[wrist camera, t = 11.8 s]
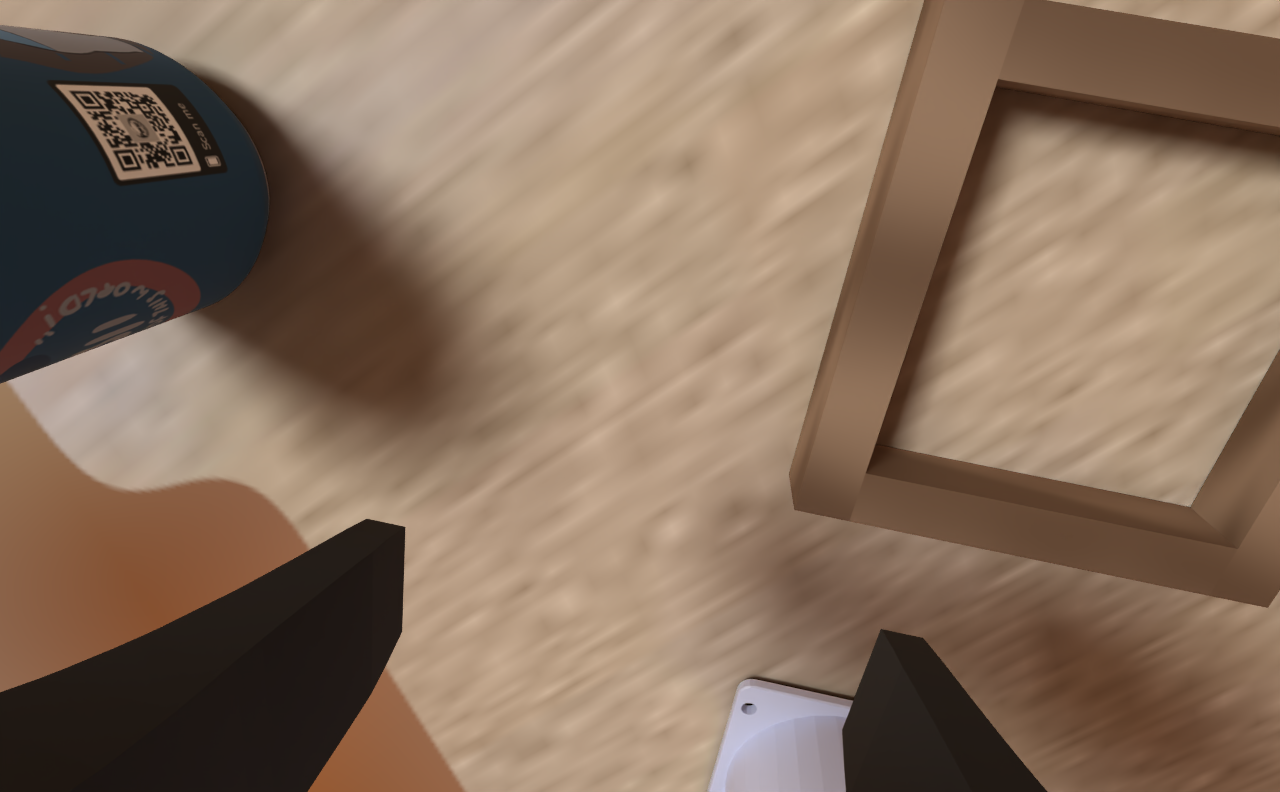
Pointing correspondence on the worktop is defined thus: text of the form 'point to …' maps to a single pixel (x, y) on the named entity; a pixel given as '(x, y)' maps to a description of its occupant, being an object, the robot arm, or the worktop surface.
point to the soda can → (114, 194)
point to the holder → (905, 260)
